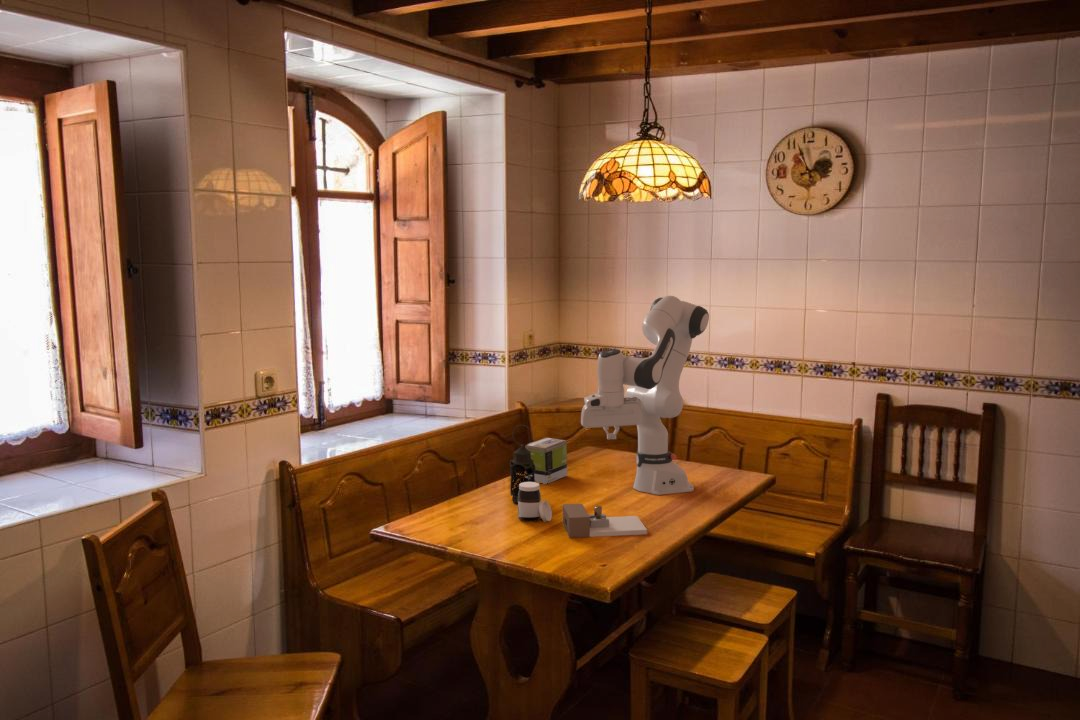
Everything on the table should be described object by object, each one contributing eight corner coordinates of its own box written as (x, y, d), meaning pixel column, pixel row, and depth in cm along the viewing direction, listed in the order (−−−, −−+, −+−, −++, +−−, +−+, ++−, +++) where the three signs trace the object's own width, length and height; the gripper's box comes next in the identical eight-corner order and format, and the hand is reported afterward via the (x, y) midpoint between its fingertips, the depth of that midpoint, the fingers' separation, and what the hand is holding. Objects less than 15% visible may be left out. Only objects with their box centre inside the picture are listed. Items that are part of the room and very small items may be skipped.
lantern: (505, 503, 308) (504, 426, 304) (514, 496, 316) (514, 421, 312) (531, 506, 304) (530, 428, 300) (540, 499, 313) (539, 423, 309)
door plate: (636, 520, 289) (637, 501, 288) (647, 534, 275) (647, 514, 274) (562, 523, 286) (562, 504, 285) (569, 537, 272) (569, 517, 271)
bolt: (603, 522, 281) (603, 505, 281) (604, 525, 279) (604, 507, 278) (572, 524, 280) (572, 506, 279) (574, 526, 278) (574, 509, 277)
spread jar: (517, 513, 296) (517, 480, 295) (550, 512, 297) (550, 479, 295) (519, 525, 284) (518, 490, 283) (553, 524, 285) (553, 490, 284)
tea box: (547, 472, 348) (547, 436, 346) (567, 476, 342) (567, 439, 340) (524, 481, 336) (524, 443, 334) (545, 485, 330) (545, 447, 328)
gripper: (639, 394, 292) (639, 434, 295) (579, 398, 290) (580, 438, 292) (643, 398, 286) (644, 439, 289) (582, 402, 284) (583, 443, 286)
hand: (611, 438), depth 290 cm, fingers closed
